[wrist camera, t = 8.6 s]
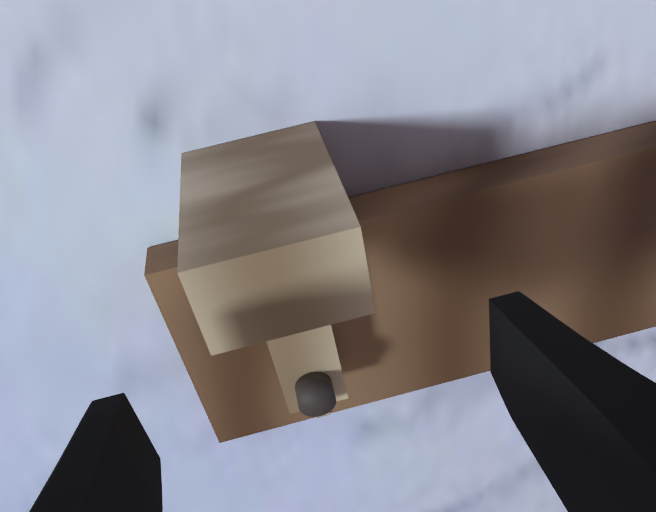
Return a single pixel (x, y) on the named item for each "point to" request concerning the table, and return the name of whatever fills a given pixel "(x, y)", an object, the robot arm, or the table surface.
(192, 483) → the table surface
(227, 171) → the marking gauge
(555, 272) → the walnut board
